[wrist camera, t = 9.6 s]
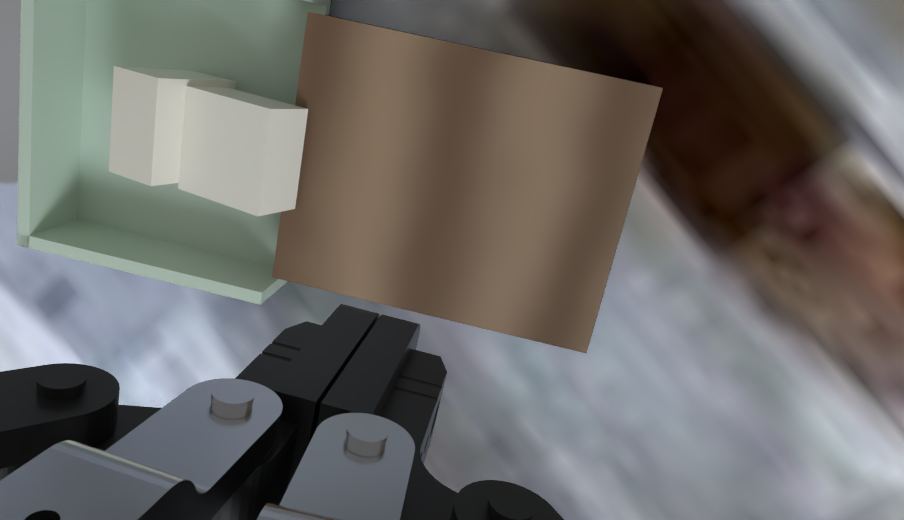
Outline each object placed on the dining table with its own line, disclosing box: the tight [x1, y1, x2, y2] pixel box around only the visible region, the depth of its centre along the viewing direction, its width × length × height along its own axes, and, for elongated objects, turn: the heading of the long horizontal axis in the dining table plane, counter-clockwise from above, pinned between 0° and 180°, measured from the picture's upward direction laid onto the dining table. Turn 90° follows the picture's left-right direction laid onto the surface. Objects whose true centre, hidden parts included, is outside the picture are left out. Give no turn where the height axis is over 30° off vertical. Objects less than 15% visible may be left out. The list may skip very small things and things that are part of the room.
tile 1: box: [178, 86, 308, 216], centre depth 30 cm, size 4×4×2 cm
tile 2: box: [109, 66, 236, 186], centre depth 31 cm, size 4×4×2 cm
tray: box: [17, 0, 331, 305], centre depth 32 cm, size 12×14×4 cm
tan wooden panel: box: [272, 12, 663, 353], centre depth 32 cm, size 15×12×3 cm
